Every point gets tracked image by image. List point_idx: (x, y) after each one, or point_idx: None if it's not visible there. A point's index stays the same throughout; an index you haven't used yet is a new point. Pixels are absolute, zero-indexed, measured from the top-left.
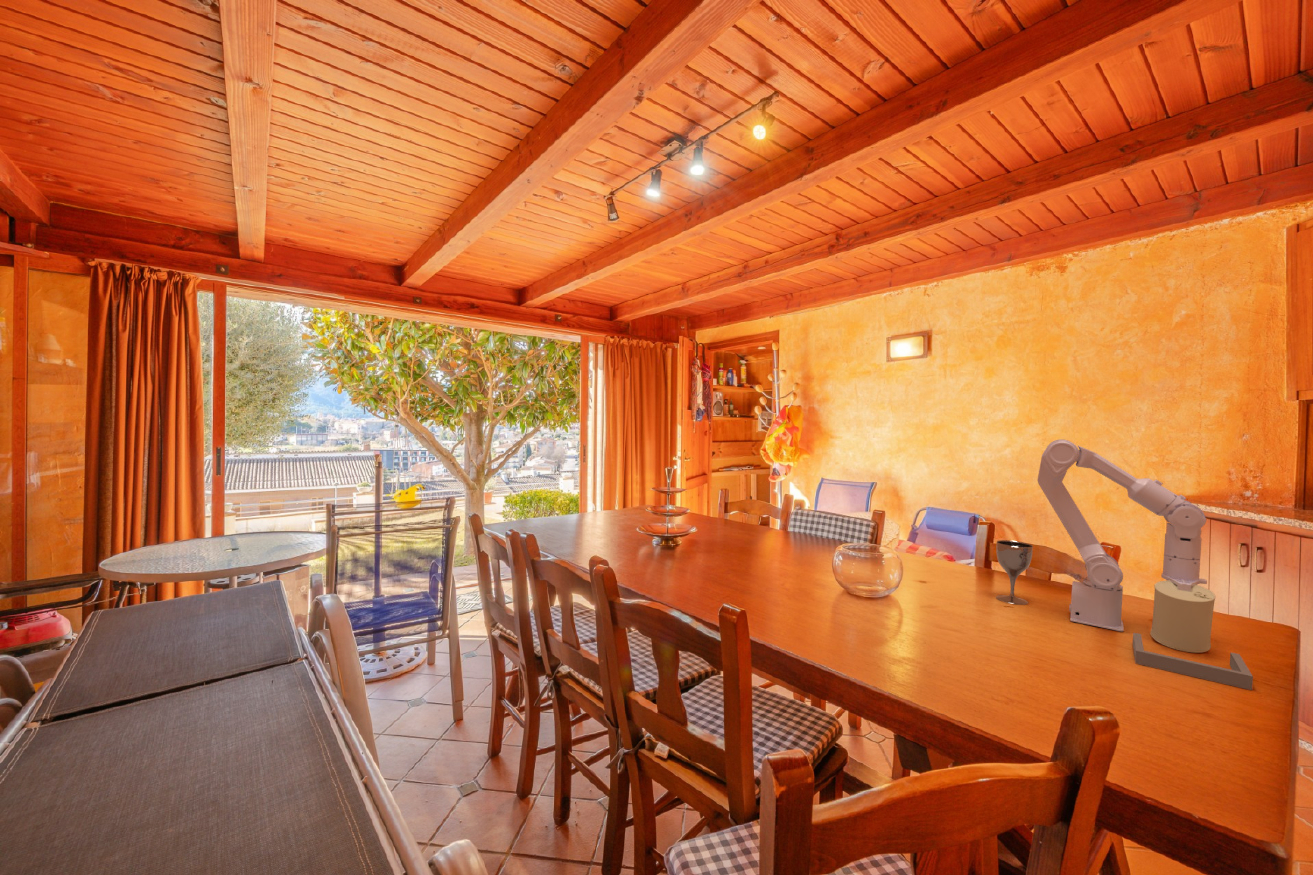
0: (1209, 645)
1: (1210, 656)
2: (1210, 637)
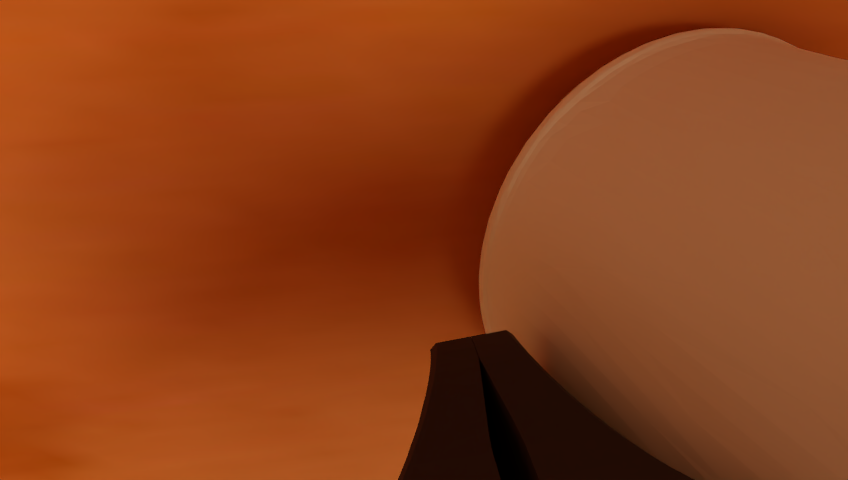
0: (770, 41)
1: (837, 10)
2: (814, 55)
